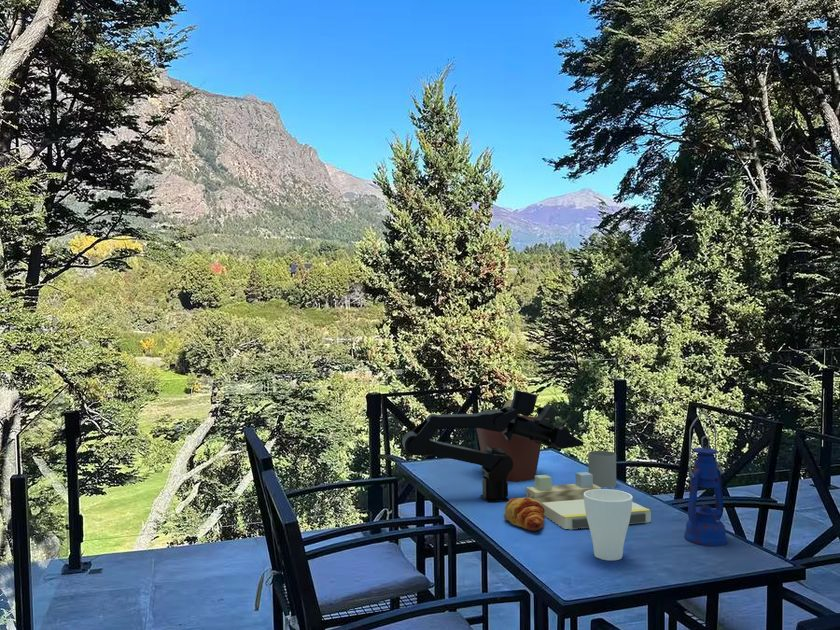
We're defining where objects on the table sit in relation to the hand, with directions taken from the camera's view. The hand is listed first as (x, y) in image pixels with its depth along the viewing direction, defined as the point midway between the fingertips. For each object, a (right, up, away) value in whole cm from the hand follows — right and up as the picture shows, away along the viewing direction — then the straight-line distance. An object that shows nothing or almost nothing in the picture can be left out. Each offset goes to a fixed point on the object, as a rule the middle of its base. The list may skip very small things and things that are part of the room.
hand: (576, 442), depth 200 cm
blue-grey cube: (0, -11, -8) cm, 13 cm away
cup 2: (-5, -16, -50) cm, 53 cm away
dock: (0, -16, -22) cm, 27 cm away
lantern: (+21, -16, -39) cm, 48 cm away
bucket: (-15, -16, +25) cm, 33 cm away
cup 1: (+11, -16, +11) cm, 22 cm away
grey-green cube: (-12, -11, -11) cm, 19 cm away
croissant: (-19, -16, -25) cm, 35 cm away
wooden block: (-6, -16, -9) cm, 19 cm away
